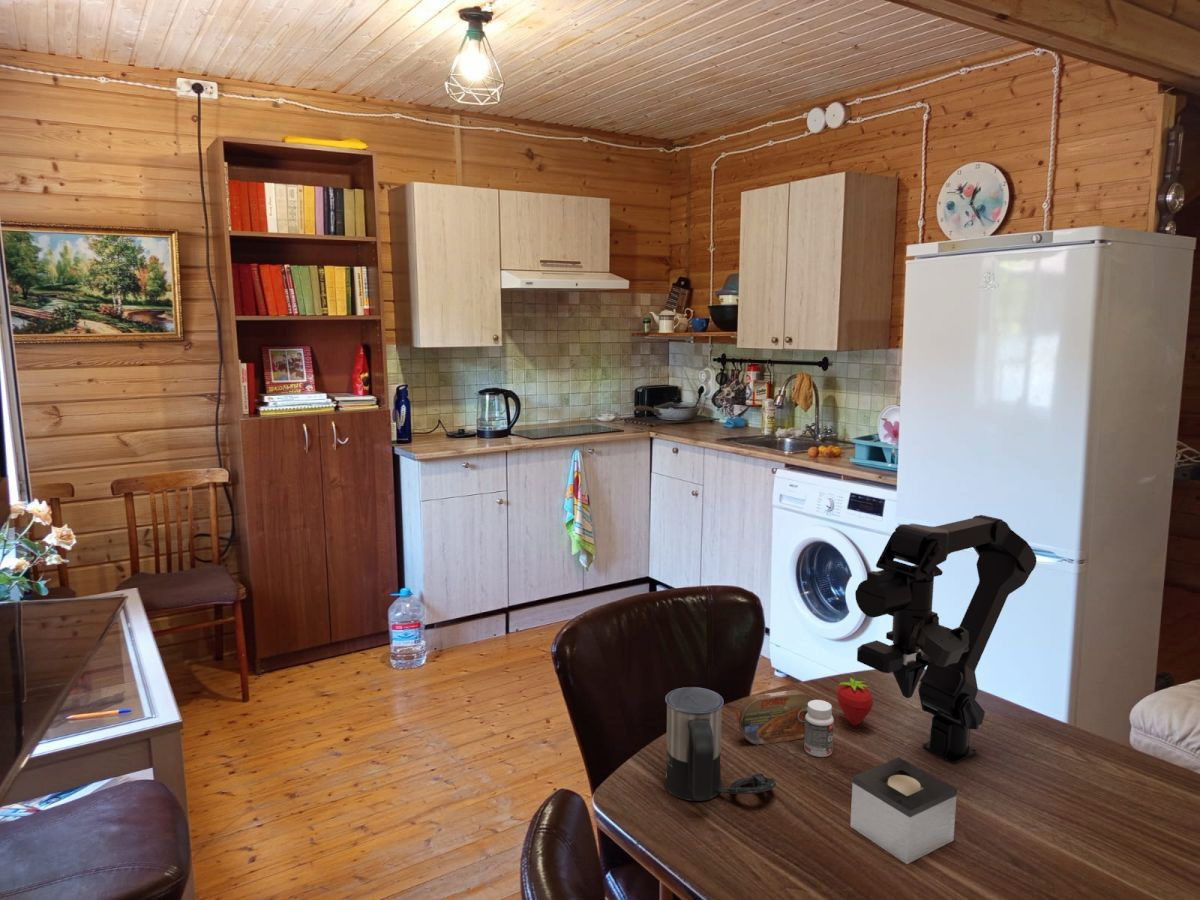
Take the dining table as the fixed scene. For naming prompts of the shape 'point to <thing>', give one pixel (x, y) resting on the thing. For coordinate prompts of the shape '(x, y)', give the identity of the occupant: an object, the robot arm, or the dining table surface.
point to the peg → (904, 784)
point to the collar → (903, 811)
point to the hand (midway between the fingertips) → (907, 696)
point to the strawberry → (854, 700)
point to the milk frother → (699, 747)
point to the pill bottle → (819, 728)
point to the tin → (773, 717)
